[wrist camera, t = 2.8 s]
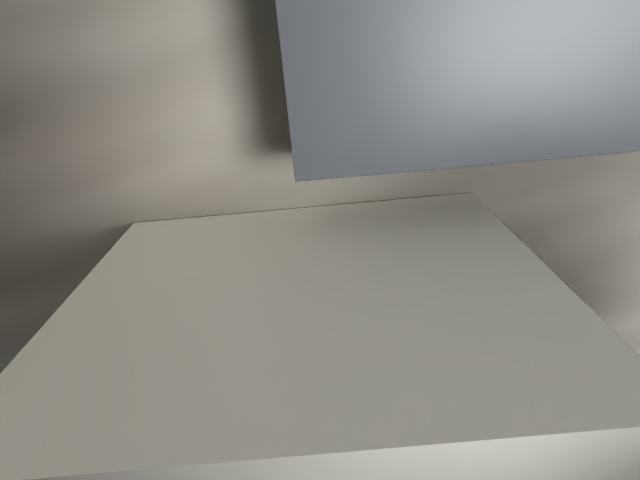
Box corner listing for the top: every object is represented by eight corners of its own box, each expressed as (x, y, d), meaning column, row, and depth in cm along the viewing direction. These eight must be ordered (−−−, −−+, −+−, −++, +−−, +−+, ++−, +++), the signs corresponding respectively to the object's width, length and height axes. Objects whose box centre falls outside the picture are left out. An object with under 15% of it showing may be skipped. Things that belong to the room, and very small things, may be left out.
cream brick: (454, 432, 10) (570, 744, 6) (201, 454, 10) (122, 781, 6) (471, 192, 8) (706, 420, 3) (133, 223, 8) (-105, 490, 3)
